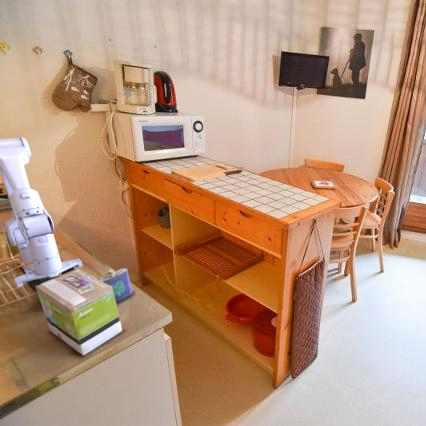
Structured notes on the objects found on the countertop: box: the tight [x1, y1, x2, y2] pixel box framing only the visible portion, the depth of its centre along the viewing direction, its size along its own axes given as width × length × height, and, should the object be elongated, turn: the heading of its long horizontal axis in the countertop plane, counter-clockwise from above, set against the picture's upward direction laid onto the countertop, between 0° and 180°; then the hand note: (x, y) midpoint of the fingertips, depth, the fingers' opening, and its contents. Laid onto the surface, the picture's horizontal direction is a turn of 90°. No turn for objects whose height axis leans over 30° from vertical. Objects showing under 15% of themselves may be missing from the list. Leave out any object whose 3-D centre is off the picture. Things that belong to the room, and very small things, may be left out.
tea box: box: [35, 267, 123, 356], centre depth 79 cm, size 15×10×15 cm
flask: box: [97, 267, 133, 305], centre depth 92 cm, size 9×3×11 cm, turn 148°
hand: (57, 295), depth 92 cm, fingers closed on slot pad, 5 cm apart
